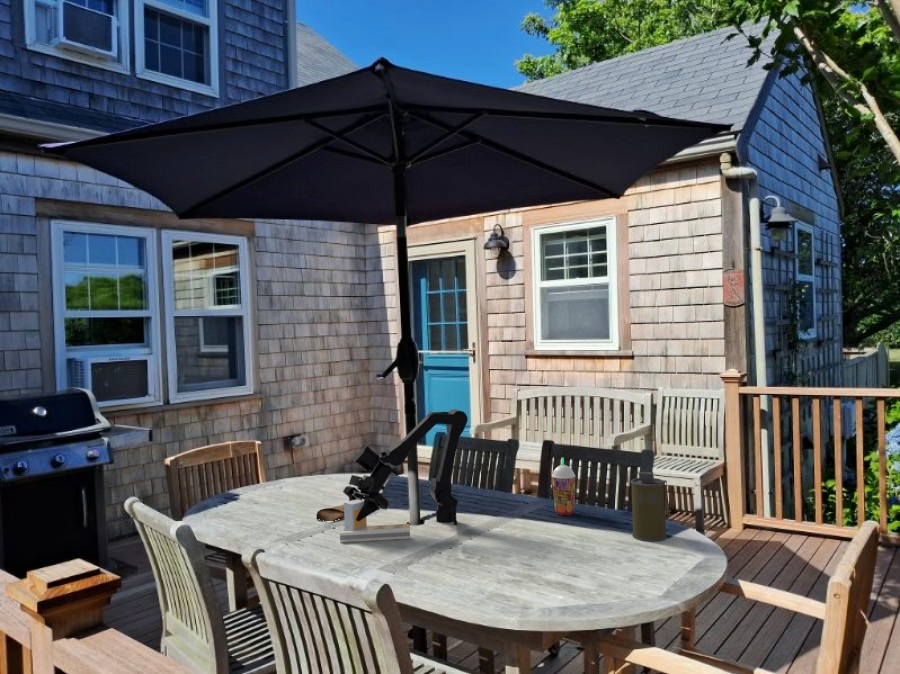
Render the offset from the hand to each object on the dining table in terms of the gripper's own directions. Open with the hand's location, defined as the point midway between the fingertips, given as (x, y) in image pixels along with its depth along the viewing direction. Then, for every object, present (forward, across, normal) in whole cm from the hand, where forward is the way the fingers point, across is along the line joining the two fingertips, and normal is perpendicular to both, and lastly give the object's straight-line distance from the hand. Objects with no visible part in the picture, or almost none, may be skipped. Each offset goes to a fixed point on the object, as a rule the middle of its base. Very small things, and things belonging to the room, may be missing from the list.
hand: (351, 519), depth 236 cm
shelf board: (0, +3, +10) cm, 10 cm away
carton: (+3, 0, +5) cm, 6 cm away
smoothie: (-43, +34, +53) cm, 76 cm away
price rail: (+2, +9, +6) cm, 11 cm away
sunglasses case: (-6, -27, +16) cm, 32 cm away
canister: (-39, +71, +49) cm, 95 cm away
